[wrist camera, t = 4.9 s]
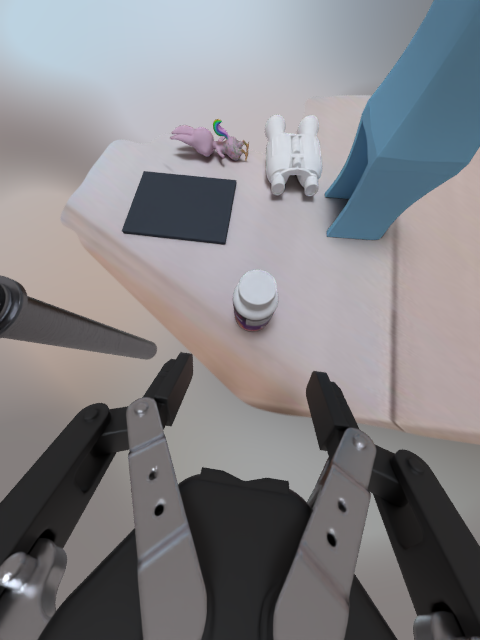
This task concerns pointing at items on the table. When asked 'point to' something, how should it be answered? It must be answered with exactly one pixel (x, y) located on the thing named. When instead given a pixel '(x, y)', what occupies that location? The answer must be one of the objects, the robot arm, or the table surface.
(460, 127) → the vase
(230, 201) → the mat
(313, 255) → the table surface
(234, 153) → the pink figurine
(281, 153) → the binoculars
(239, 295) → the pill bottle
